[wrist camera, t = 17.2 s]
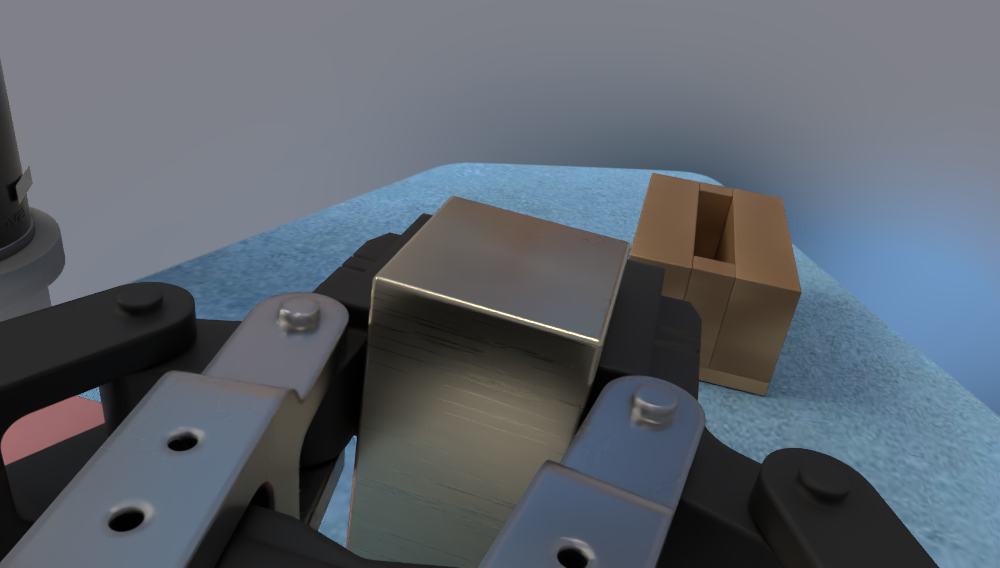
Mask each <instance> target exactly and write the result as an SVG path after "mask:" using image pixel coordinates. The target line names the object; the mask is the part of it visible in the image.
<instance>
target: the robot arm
mask: <svg viewBox="0 0 1000 568" xmlns="http://www.w3.org/2000/svg"><path fill="white" fill-rule="evenodd" d="M31 185H32V178H31V173H30V167H28V169H27V170H26V171H25V173H24V174H22V167H21V162H20V157H19V152H18V147H17V142H16V137H15V132H14V127H13V122H12V116H11V111H10V107H9V101H8V96H7V91H6V86H5V81H4V76H3V71H2V66H1V61H0V261H1V260H4V259H6V258H8V257H10V256H12V255H14V254H16V253H17V252H19V251H21V250H22V249H23V248H25V247H26V246H27V245H28V244H29V243H30V242H31V241H32V239H33V238H34V236H35V225H34V220H33V217H32V215H31V214H30V210H29V205H28V199H27V194H26V193H27V191H28V190H29V188H30V187H31ZM432 216H433V215H429V214H422V215H421V216H420V217H419V218H418V219H417V220H416V221H415V222H414V223H413V224H412V225H411V226H410V227H409V228H408V229H407V230H406V231H405V232H404V233H403V234H402V235H398V234H394V233H388V234H385V235H382V236H380V237H377V238H374V239H372V240H369V241H367V242H366V243H365V244H364V245H363V246H361V247H360V248H359V249H358V250H357V251H356V252H355V253H354V255H353V257H352V256H351V257H350V258H349V259H348V260H346V261H345V262H344V263H343V264H342V267H339V268H338V269H337V270H336V271H335V272H334V273H332V274H331V275H330V276H329V277H328V278H327V279H326V280H325V281H324V282H323V283H322V284H321V285H320V286H318V287H317V288H316V289H315V290H314V291H313V292H312V293H308V292H294V293H285V294H280V295H276V296H273V297H270V298H267V299H265V300H263V301H261V302H260V303H258V304H257V305H256V306H255V307H254V308H253V309H252V310H251V311H250V313H249V314H248V315H247V316H246V318H245V319H244V320H243V321H225V320H207V319H196V313H195V302H194V298H193V296H192V295H191V294H190V293H189V292H188V291H187V290H185V289H183V288H181V287H179V286H176V285H172V284H167V283H161V282H140V283H132V284H126V285H122V286H118V287H114V288H111V289H108V290H105V291H102V292H98V293H95V294H91V295H88V296H85V297H82V298H78V299H75V300H72V301H68V302H65V303H62V304H59V305H55V306H52V307H49V308H45V309H42V310H39V311H35V312H32V313H29V314H26V315H22V316H19V317H16V318H12V319H9V320H6V321H3V322H0V568H459V567H449V566H437V565H426V564H414V563H402V562H391V561H379V560H370V559H366V558H362V557H360V556H358V555H356V554H354V553H353V552H351V551H349V550H348V549H346V548H344V547H343V546H341V545H339V544H338V543H336V542H334V541H333V540H331V539H329V538H328V537H326V536H324V535H323V534H321V533H319V532H318V529H319V526H320V524H321V521H322V519H323V516H324V514H325V512H326V509H327V507H328V504H329V502H330V500H331V497H332V495H333V492H334V490H335V487H336V485H337V483H338V480H339V478H340V475H341V473H342V471H343V467H344V458H345V447H346V446H347V444H348V443H349V441H350V440H351V439H352V437H353V436H354V435H355V436H357V433H358V423H359V413H360V403H361V393H362V383H363V372H364V362H365V352H366V342H367V332H368V322H369V312H370V301H371V291H372V281H373V278H374V277H375V275H376V274H377V273H378V272H379V271H380V270H381V269H382V268H383V267H384V266H385V265H386V264H387V263H388V262H389V261H390V260H391V259H392V258H393V257H394V256H395V255H396V253H397V252H398V251H399V250H400V249H401V248H402V247H403V246H404V245H405V244H406V243H407V242H408V241H409V240H410V239H411V238H412V237H413V236H414V235H415V234H416V233H417V232H418V231H419V230H420V229H421V227H422V226H423V225H424V224H425V223H426V222H427V221H428V220H429V219H430V218H431V217H432ZM664 275H665V267H661V266H656V265H652V264H647V263H643V262H638V261H634V260H629V259H628V260H627V264H626V267H625V271H624V274H623V278H622V282H621V285H620V289H619V293H618V296H617V300H616V304H615V307H614V311H613V314H612V318H611V322H610V325H609V329H608V333H607V336H606V340H605V343H604V347H603V351H602V354H601V358H600V361H599V365H598V368H597V372H596V375H595V379H594V382H593V386H592V389H591V393H590V397H589V400H588V404H587V407H586V411H585V414H584V418H583V421H582V425H581V427H580V429H579V430H578V432H577V434H576V435H575V437H574V439H573V440H572V442H571V444H570V445H569V447H568V449H567V451H566V452H565V454H564V456H563V457H562V459H561V461H560V462H559V463H557V462H555V461H552V460H550V459H548V460H546V461H545V462H544V463H543V464H542V466H541V467H540V469H539V470H538V472H537V473H536V475H535V476H534V478H533V480H532V481H531V483H530V485H529V486H528V488H527V489H526V491H525V493H524V494H523V496H522V497H521V499H520V501H519V502H518V504H517V505H516V507H515V509H514V510H513V512H512V513H511V515H510V517H509V518H508V520H507V521H506V523H505V525H504V526H503V528H502V529H501V531H500V533H499V534H498V536H497V537H496V539H495V541H494V542H493V544H492V546H491V547H490V549H489V550H488V552H487V554H486V555H485V557H484V558H483V560H482V562H481V563H480V565H479V566H478V568H939V567H938V566H937V564H936V563H935V562H934V561H933V559H932V558H931V557H930V556H929V555H928V553H927V552H926V551H925V550H924V548H923V547H922V546H921V545H920V544H919V542H918V541H917V540H916V539H915V537H914V536H913V535H912V534H911V533H910V531H909V530H908V529H907V528H906V526H905V525H904V524H903V523H902V521H901V520H900V519H899V518H898V517H897V515H896V514H895V513H894V512H893V510H892V509H891V508H890V507H889V506H888V504H887V503H886V502H885V501H884V499H883V498H882V497H881V496H880V495H879V493H878V492H877V491H876V490H875V488H874V487H873V486H872V485H871V484H870V483H869V482H868V481H867V480H866V479H865V478H864V477H863V476H862V475H861V474H860V473H858V472H857V471H856V470H854V469H853V468H851V467H850V466H848V465H847V464H845V463H843V462H842V461H840V460H838V459H835V458H833V457H831V456H829V455H826V454H823V453H820V452H817V451H813V450H808V449H802V448H785V449H780V450H776V451H774V452H772V453H770V454H769V455H768V456H767V457H766V458H765V459H764V461H763V463H762V464H760V463H758V462H756V461H754V460H752V459H750V458H748V457H746V456H744V455H742V454H740V453H738V452H736V451H734V450H732V449H731V448H729V447H728V446H726V445H725V444H723V443H722V442H720V441H719V440H718V439H717V438H715V437H714V436H713V435H712V434H711V433H710V432H709V431H708V429H707V428H706V427H705V421H706V419H705V413H704V411H703V408H702V407H701V405H700V404H699V402H698V385H699V366H700V348H701V340H700V339H701V329H702V319H701V317H700V316H699V314H698V313H697V311H696V310H695V308H694V307H693V305H692V304H691V302H689V301H684V300H680V299H675V298H671V297H667V296H662V295H661V293H662V287H663V281H664ZM97 387H99V390H100V396H101V402H102V409H103V415H104V421H105V423H103V424H100V425H98V426H96V427H93V428H91V429H89V430H86V431H84V432H82V433H79V434H77V435H75V436H72V437H70V438H68V439H65V440H63V441H61V442H58V443H56V444H54V445H51V446H49V447H47V448H44V449H42V450H40V451H37V452H35V453H33V454H30V455H28V456H26V457H24V458H21V459H19V460H17V461H14V462H12V463H10V464H7V465H4V461H3V457H2V453H1V441H2V438H3V436H4V434H5V432H6V431H7V430H8V428H9V427H10V426H11V425H12V424H13V423H15V422H16V421H17V420H19V419H20V418H22V417H24V416H26V415H28V414H30V413H33V412H35V411H38V410H41V409H43V408H46V407H48V406H51V405H53V404H56V403H58V402H61V401H63V400H66V399H69V398H71V397H74V396H76V395H79V394H81V393H84V392H86V391H89V390H91V389H94V388H97Z"/></svg>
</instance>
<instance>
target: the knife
mask: <svg viewBox="0 0 1000 568" xmlns="http://www.w3.org/2000/svg"><path fill="white" fill-rule="evenodd" d="M630 249H631V247H630V243H628V242H626V241H622V240H618V239H614V238H611V237H607V236H603V235H599V234H596V233H592V232H588V231H584V230H580V229H577V228H573V227H569V226H565V225H562V224H558V223H554V222H550V221H546V220H543V219H539V218H535V217H531V216H528V215H524V214H520V213H516V212H513V211H509V210H505V209H501V208H497V207H494V206H490V205H486V204H482V203H479V202H475V201H471V200H467V199H463V198H460V197H456V196H453V197H450V198H449V199H448V200H447V201H446V203H445V204H444V205H443V206H442V207H441V208H440V209H439V210H438V211H437V212H436V213H435V214H434V215H433V216H432V217H431V218H430V219H429V220H428V221H427V222H426V223H425V224H424V225H423V226H422V227H421V229H420V230H419V231H418V232H417V233H416V234H415V235H414V236H413V237H412V238H411V239H410V240H409V241H408V242H407V243H406V244H405V245H404V246H403V247H402V248H401V249H400V250H399V251H398V252H397V253H396V255H395V256H394V257H393V258H392V259H391V260H390V261H389V262H388V263H387V264H386V265H385V266H384V267H383V268H382V269H381V270H380V271H379V272H378V273H377V274H376V275H375V277H374V278H373V281H372V291H371V301H370V312H369V322H368V332H367V342H366V352H365V362H364V372H363V383H362V393H361V403H360V413H359V423H358V433H357V443H356V453H355V464H354V474H353V484H352V494H351V504H350V514H349V524H348V535H347V545H346V549H348V550H349V551H351V552H353V553H354V554H356V555H358V556H360V557H362V558H366V559H370V560H379V561H391V562H402V563H414V564H426V565H437V566H449V567H459V568H478V566H479V565H480V563H481V562H482V560H483V558H484V557H485V555H486V554H487V552H488V550H489V549H490V547H491V546H492V544H493V542H494V541H495V539H496V537H497V536H498V534H499V533H500V531H501V529H502V528H503V526H504V525H505V523H506V521H507V520H508V518H509V517H510V515H511V513H512V512H513V510H514V509H515V507H516V505H517V504H518V502H519V501H520V499H521V497H522V496H523V494H524V493H525V491H526V489H527V488H528V486H529V485H530V483H531V481H532V480H533V478H534V476H535V475H536V473H537V472H538V470H539V469H540V467H541V466H542V464H543V463H544V462H545V461H546V460H548V459H550V460H552V461H555V462H557V463H559V462H560V461H561V459H562V457H563V456H564V454H565V452H566V451H567V449H568V447H569V445H570V444H571V442H572V440H573V439H574V437H575V435H576V434H577V432H578V430H579V429H580V427H581V425H582V421H583V418H584V414H585V411H586V407H587V404H588V400H589V397H590V393H591V389H592V386H593V382H594V379H595V375H596V372H597V368H598V365H599V361H600V358H601V354H602V351H603V347H604V343H605V340H606V336H607V333H608V329H609V325H610V322H611V318H612V314H613V311H614V307H615V304H616V300H617V296H618V293H619V289H620V285H621V282H622V278H623V274H624V271H625V267H626V264H627V260H628V256H629V253H630Z"/></svg>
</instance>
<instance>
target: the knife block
mask: <svg viewBox="0 0 1000 568" xmlns="http://www.w3.org/2000/svg"><path fill="white" fill-rule="evenodd" d="M629 260H634V261H638V262H643V263H647V264H652V265H656V266H661V267H665V275H664V281H663V287H662V293H661V295H662V296H667V297H671V298H675V299H680V300H684V301H689V302H691V304H692V305H693V307H694V308H695V310H696V311H697V313H698V314H699V316H700V317H701V319H702V329H701V339H700V340H701V348H700V366H699V380H701V381H705V382H709V383H713V384H717V385H721V386H725V387H729V388H734V389H738V390H742V391H746V392H750V393H754V394H758V395H762V396H765V395H766V392H767V389H768V386H769V382H770V380H771V377H772V375H773V372H774V369H775V366H776V363H777V360H778V357H779V355H780V352H781V349H782V346H783V343H784V340H785V338H786V335H787V332H788V329H789V326H790V323H791V321H792V318H793V315H794V312H795V309H796V306H797V303H798V301H799V298H800V295H801V287H800V282H799V277H798V273H797V268H796V263H795V258H794V253H793V248H792V243H791V239H790V234H789V229H788V224H787V219H786V214H785V209H784V205H783V200H782V198H779V197H774V196H769V195H763V194H758V193H753V192H748V191H742V190H738V189H732V188H727V187H722V186H717V185H712V184H707V183H702V182H701V183H699V182H697V181H691V180H686V179H681V178H676V177H671V176H666V175H661V174H656V173H652V175H651V179H650V182H649V186H648V189H647V193H646V197H645V200H644V204H643V208H642V211H641V215H640V219H639V222H638V226H637V230H636V233H635V237H634V241H633V244H632V248H631V252H630V255H629Z"/></svg>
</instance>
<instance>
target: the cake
mask: <svg viewBox="0 0 1000 568" xmlns="http://www.w3.org/2000/svg"><path fill="white" fill-rule="evenodd" d="M103 423H105V421H104V415H103V409H102V403H100V402H97V401H93V400H90V399H86V398H83V397H79V396H74V397H71V398H69V399H66V400H63V401H61V402H58V403H56V404H53V405H51V406H48V407H46V408H43V409H41V410H38V411H35V412H33V413H30V414H28V415H26V416H24V417H22V418H20V419H19V420H17V421H16V422H15V423H13V424H12V425H11V426H10V427H9V428H8V430H7V431H6V432H5V434H4V436H3V438H2V441H1V453H2V457H3V461H4V465H7V464H10V463H12V462H14V461H17V460H19V459H21V458H24V457H26V456H28V455H30V454H33V453H35V452H37V451H40V450H42V449H44V448H47V447H49V446H51V445H54V444H56V443H58V442H61V441H63V440H65V439H68V438H70V437H72V436H75V435H77V434H79V433H82V432H84V431H86V430H89V429H91V428H93V427H96V426H98V425H100V424H103Z"/></svg>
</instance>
